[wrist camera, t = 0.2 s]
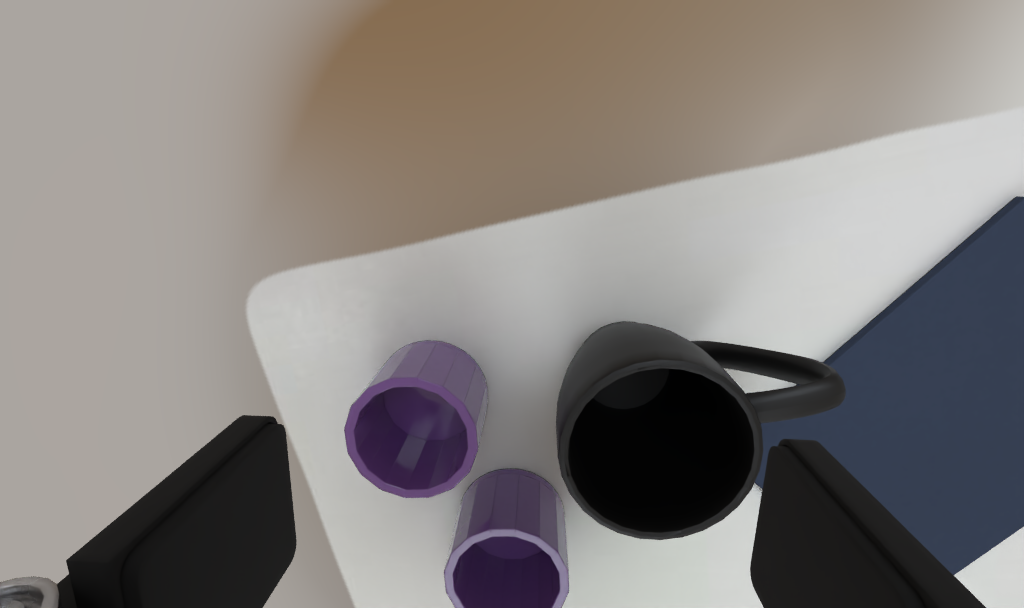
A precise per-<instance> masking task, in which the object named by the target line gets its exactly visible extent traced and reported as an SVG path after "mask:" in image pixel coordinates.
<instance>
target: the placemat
mask: <svg viewBox="0 0 1024 608" xmlns="http://www.w3.org/2000/svg"><path fill="white" fill-rule="evenodd" d="M823 363H824V364H827V365H828V366H830V367H832V368H833V369H835V370H836V371H837V373H838V374H839V375H840V376H841V378H842V379H843V382H844V385H845V388H846V395H845V399H844V400H843V402H842V403H841V405H839V406H838V407H836V408H833V409H831V410H828V411H825V412H822V413H819V414H815V415H811V416H806V417H801V418H796V419H790V420H784V421H776V422H768V423H760V424H761V427H762V438H763V456H762V461H761V467H760V471H759V473H758V476H757V478H756V480H755V483H756V484H757V485H758V486H759V487H760V488H762V489H763V484H764V477H765V471H766V465H767V459H768V453H769V450H770V448H771V447H772V446H778V444H779V442H780V441H781V440H782V439H800V440H816V441H818V442H819V443H820V444H821V445H822V446H823V447H824V448H825V449H826V450H827V451H828V452H829V453H830V454H831V455H832V456H833V457H834V458H835V459H836V460H837V461H838V462H839V463H841V464H842V465H843V466H844V467H845V468H846V469H847V470H848V471H849V472H850V473H851V474H852V475H853V476H854V477H855V478H856V479H857V480H858V481H859V482H860V483H861V484H862V485H863V486H864V487H865V488H866V489H867V490H868V491H869V492H870V493H871V494H872V495H873V496H874V497H875V498H876V499H877V500H878V501H879V502H880V503H881V504H882V505H883V506H884V507H885V508H886V509H887V510H888V511H889V512H890V513H891V514H892V515H893V516H894V517H895V518H896V519H897V520H898V521H899V522H900V523H901V524H902V525H903V526H904V527H905V528H906V529H907V530H908V531H909V532H910V533H911V534H912V535H913V536H914V537H915V538H916V539H917V540H918V541H919V542H920V543H921V544H922V545H923V546H924V547H925V548H926V549H927V550H928V551H929V552H930V553H931V554H932V555H933V556H934V557H935V558H936V559H937V560H938V561H939V562H940V563H941V564H942V565H943V566H944V567H945V568H946V569H947V570H948V571H949V572H950V573H952V574H953V575H955V574H956V573H958V572H959V571H960V570H962V569H963V568H965V567H966V566H968V565H969V564H970V563H972V562H973V561H975V560H976V559H978V558H979V557H980V556H982V555H983V554H985V553H986V552H988V551H989V550H991V549H992V548H993V547H995V546H996V545H998V544H999V543H1001V542H1002V541H1003V540H1005V539H1006V538H1008V537H1009V536H1011V535H1012V534H1013V533H1015V532H1016V531H1018V530H1019V529H1021V528H1022V527H1024V197H1015V198H1014V199H1013V200H1012V201H1011V202H1010V203H1008V204H1007V205H1006V206H1005V207H1004V208H1003V209H1001V210H1000V211H999V212H998V213H997V214H996V215H994V216H993V217H992V218H991V219H990V220H989V221H987V222H986V223H985V224H984V225H983V226H982V227H980V228H979V229H978V230H977V231H976V232H975V233H973V234H972V235H971V236H970V237H969V238H968V239H966V240H965V241H964V242H963V243H962V244H961V245H959V246H958V247H957V248H956V249H955V250H954V251H952V252H951V253H950V254H949V255H948V256H947V257H945V258H944V259H943V260H942V261H941V262H940V263H939V264H937V265H936V266H935V267H934V268H933V269H932V270H930V271H929V272H928V273H927V274H926V275H925V276H923V277H922V278H921V279H920V280H919V281H918V282H916V283H915V284H914V285H913V286H912V287H911V288H909V289H908V290H907V291H906V292H905V293H904V294H902V295H901V296H900V297H899V298H898V299H897V300H895V301H894V302H893V303H892V304H891V305H890V306H888V307H887V308H886V309H885V310H884V311H883V312H881V313H880V314H879V315H878V316H877V317H876V318H874V319H873V320H872V321H871V322H870V323H869V324H868V325H866V326H865V327H864V328H863V329H862V330H861V331H859V332H858V333H857V334H856V335H855V336H854V337H852V338H851V339H850V340H849V341H848V342H847V343H845V344H844V345H843V346H842V347H841V348H840V349H838V350H837V351H836V352H835V353H834V354H833V355H831V356H830V357H829V358H828V359H827V360H826V361H824V362H823ZM796 386H799V384H798V385H796Z"/></svg>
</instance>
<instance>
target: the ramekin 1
mask: <svg viewBox="0 0 1024 608" xmlns="http://www.w3.org/2000/svg"><path fill="white" fill-rule="evenodd" d="M487 401H488V388H487V383H486V380H485V377H484V374H483V372H482V370H481V369H480V367H479V366H478V364H477V363H476V362H475V361H474V359H473V358H471V357H470V356H469V355H468V354H467V353H466V352H464V351H463V350H461V349H459V348H458V347H456V346H453V345H451V344H448V343H445V342H440V341H419V342H415V343H412V344H409V345H406V346H404V347H403V348H401V349H399V350H398V351H397V352H395V353H394V354H393V355H392V356H391V357H390V358H389V359H388V361H387V362H386V363H385V364H384V365H383V366H382V367H381V369H380V370H379V371H378V372H377V374H376V375H375V376H374V377H373V379H372V380H371V381H370V383H369V384H368V385H367V386H366V388H365V389H364V390H363V392H362V393H361V394H360V395H359V397H358V398H357V399H356V400H355V402H354V403H353V404H352V406H351V407H350V411H349V414H348V418H347V421H346V425H345V430H344V431H345V438H346V445H347V451H348V454H349V456H350V458H351V459H352V461H353V462H354V464H355V466H356V467H357V469H358V471H359V472H360V474H361V475H362V476H364V477H365V478H366V479H368V480H369V481H370V482H371V483H373V484H374V485H375V486H376V487H378V488H379V489H381V490H383V491H386V492H389V493H392V494H395V495H398V496H401V497H404V498H429V497H433V496H435V495H438V494H440V493H443V492H445V491H448V490H450V489H452V488H454V487H455V486H456V485H457V484H458V483H459V482H460V481H461V480H462V479H463V478H464V477H465V476H466V475H467V474H468V473H469V472H470V470H471V468H472V465H473V462H474V460H475V457H476V454H477V452H478V448H479V443H480V438H481V434H482V429H483V425H484V420H485V416H486V411H487V406H488V402H487Z"/></svg>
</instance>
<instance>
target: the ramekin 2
mask: <svg viewBox="0 0 1024 608" xmlns="http://www.w3.org/2000/svg"><path fill="white" fill-rule="evenodd" d="M444 578H445V588H446V593H447V595H448V596H449V598H450V600H451V601H452V603H453V605H454V606H455V608H562V606H563V603H564V601H565V599H566V597H567V595H568V593H569V572H568V557H567V543H566V528H565V514H564V508H563V504H562V501H561V499H560V497H559V495H558V494H557V492H556V491H555V489H554V488H553V487H552V486H551V485H550V484H549V483H548V482H547V481H545V480H544V479H543V478H541V477H539V476H538V475H536V474H533V473H531V472H528V471H524V470H519V469H501V470H496V471H492V472H489V473H487V474H485V475H483V476H481V477H480V478H478V479H477V480H476V481H475V482H473V483H472V484H471V485H470V487H469V488H468V489H467V491H466V492H465V494H464V496H463V498H462V501H461V505H460V508H459V511H458V514H457V519H456V523H455V527H454V531H453V535H452V540H451V544H450V548H449V552H448V556H447V561H446V565H445V569H444Z"/></svg>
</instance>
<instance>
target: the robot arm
mask: <svg viewBox="0 0 1024 608" xmlns="http://www.w3.org/2000/svg"><path fill="white" fill-rule="evenodd" d="M295 549H296V532H295V522H294V512H293V501H292V492H291V482H290V471H289V461H288V451H287V441H286V432H285V428H284V426H283V425H281V424H277V421H276V419H275V418H274V417H271V416H247V415H243V416H241V417H239V418H238V419H237V420H235V421H234V422H233V423H232V424H231V425H229V426H228V427H227V428H226V429H224V430H223V431H222V432H221V433H220V434H218V435H217V436H216V437H215V438H214V439H212V440H211V441H210V442H209V443H207V445H205V446H204V447H203V448H201V449H200V450H199V451H198V452H197V453H195V454H194V455H193V456H192V457H191V458H189V459H188V460H187V461H186V462H185V463H183V464H182V465H181V466H180V467H179V468H177V469H176V470H175V471H174V472H172V473H171V474H170V475H169V476H168V477H166V478H165V479H164V480H163V481H162V482H160V483H159V484H158V485H157V486H156V487H155V488H153V489H152V490H151V491H150V492H148V493H147V494H146V495H145V496H143V497H142V498H141V499H140V500H139V501H138V502H136V503H135V504H134V505H133V506H131V507H130V508H129V509H128V510H127V511H125V512H124V513H123V514H122V515H121V516H119V517H118V518H117V519H116V520H114V521H113V522H112V523H111V524H110V525H108V526H107V527H106V528H105V529H104V530H102V531H101V532H100V533H99V534H98V535H96V536H95V537H94V538H93V539H91V540H90V541H89V542H88V543H87V544H85V545H84V546H83V547H82V548H81V549H80V550H79V551H77V552H76V553H75V554H73V555H72V556H71V557H70V558H69V559H67V560H66V562H67V566H68V570H69V575H67V576H66V577H65V578H64V579H63V580H62V581H60V582H59V583H58V584H56V583H54V582H53V581H51V580H50V579H48V578H42V577H34V576H33V577H23V578H15V579H12V580H7V581H3V582H0V608H263V606H264V604H265V603H266V601H267V600H268V598H269V596H270V595H271V593H272V592H273V590H274V588H275V587H276V586H277V584H278V582H279V581H280V579H281V578H282V576H283V574H284V573H285V571H286V570H287V568H288V567H289V565H290V563H291V562H292V559H293V557H294V554H295ZM750 572H751V580H752V584H753V587H754V589H755V591H756V593H757V595H758V597H759V599H760V601H761V603H762V605H763V607H764V608H986V607H985V606H984V605H983V604H982V603H981V602H980V601H979V600H978V599H977V598H976V597H975V596H974V595H973V594H972V593H971V592H970V591H969V590H968V589H967V588H966V587H965V586H964V585H963V584H962V583H961V582H960V581H959V580H958V579H957V578H956V577H955V576H954V575H953V574H952V573H950V572H949V571H948V570H947V569H946V568H945V567H944V566H943V565H942V564H941V563H940V562H939V561H938V560H937V559H936V558H935V557H934V556H933V555H932V554H931V553H930V552H929V551H928V550H927V549H926V548H925V547H924V546H923V545H922V544H921V543H920V542H919V541H918V540H917V539H916V538H915V537H914V536H913V535H912V534H911V533H910V532H909V531H908V530H907V529H906V528H905V527H904V526H903V525H902V524H901V523H900V522H899V521H898V520H897V519H896V518H895V517H894V516H893V515H892V514H891V513H890V512H889V511H888V510H887V509H886V508H885V507H884V506H883V505H882V504H881V503H880V502H879V501H878V500H877V499H876V498H875V497H874V496H873V495H872V494H871V493H870V492H869V491H868V490H867V489H866V488H865V487H864V486H863V485H862V484H861V483H860V482H859V481H858V480H857V479H856V478H855V477H854V476H853V475H852V474H851V473H850V472H849V471H848V470H847V469H846V468H845V467H844V466H843V465H842V464H841V463H839V462H838V461H837V460H836V459H835V458H834V457H833V456H832V455H831V454H830V453H829V452H828V451H827V450H826V449H825V448H824V447H823V446H822V445H821V444H820V443H819V442H818V441H816V440H800V439H782V440H781V441H780V442H779V444H778V446H772V447H771V448H770V450H769V453H768V459H767V465H766V471H765V477H764V484H763V490H762V496H761V503H760V509H759V515H758V522H757V528H756V534H755V540H754V547H753V553H752V559H751V567H750Z"/></svg>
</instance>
